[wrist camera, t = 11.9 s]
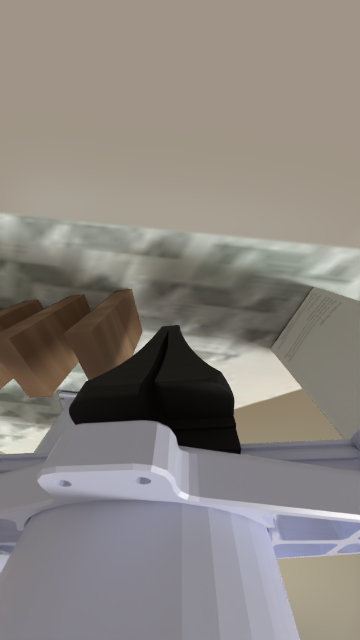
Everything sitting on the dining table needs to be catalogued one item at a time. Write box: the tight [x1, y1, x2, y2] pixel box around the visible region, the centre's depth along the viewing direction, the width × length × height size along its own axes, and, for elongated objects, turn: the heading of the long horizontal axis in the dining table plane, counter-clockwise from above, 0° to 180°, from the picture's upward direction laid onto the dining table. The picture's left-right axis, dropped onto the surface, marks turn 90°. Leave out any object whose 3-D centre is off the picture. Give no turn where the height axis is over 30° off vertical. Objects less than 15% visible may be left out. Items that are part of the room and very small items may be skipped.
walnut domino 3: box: [64, 289, 142, 380], centre depth 14 cm, size 2×5×8 cm, turn 7°
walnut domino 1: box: [0, 300, 44, 389], centre depth 14 cm, size 2×5×8 cm, turn 7°
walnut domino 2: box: [0, 295, 91, 398], centre depth 14 cm, size 2×5×8 cm, turn 6°
